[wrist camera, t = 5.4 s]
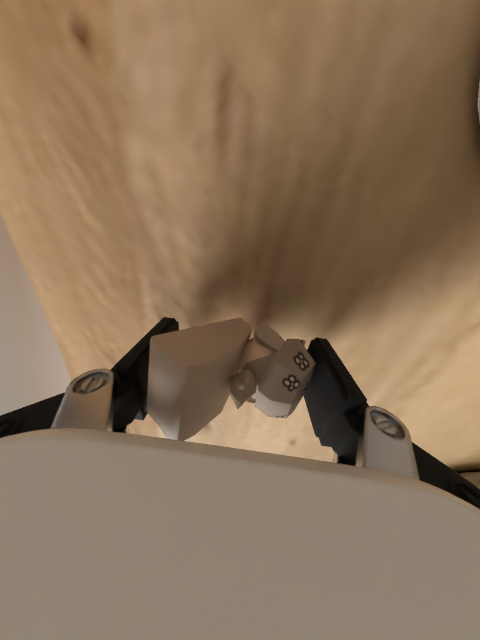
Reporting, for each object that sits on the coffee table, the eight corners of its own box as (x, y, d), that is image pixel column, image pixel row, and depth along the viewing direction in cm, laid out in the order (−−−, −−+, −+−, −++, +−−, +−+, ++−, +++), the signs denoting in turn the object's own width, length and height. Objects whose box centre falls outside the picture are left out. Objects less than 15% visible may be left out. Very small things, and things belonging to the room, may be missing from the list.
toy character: (237, 349, 14) (308, 390, 11) (131, 399, 8) (232, 532, 5) (249, 302, 13) (334, 334, 10) (132, 314, 6) (276, 422, 3)
